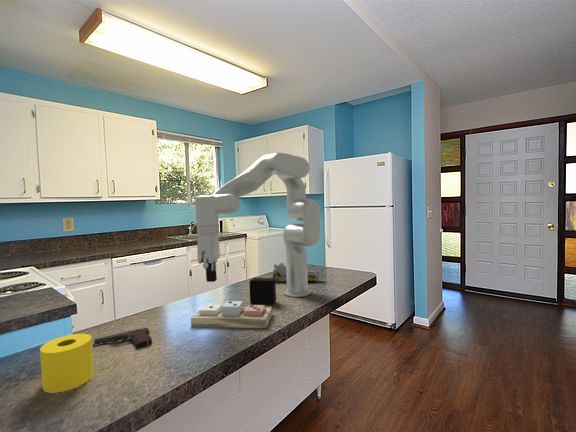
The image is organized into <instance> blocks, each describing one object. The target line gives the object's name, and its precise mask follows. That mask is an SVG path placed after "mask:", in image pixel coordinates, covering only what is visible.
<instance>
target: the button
mask: <svg viewBox="0 0 576 432" xmlns="http://www.w3.org/2000/svg"><path fill="white" fill-rule="evenodd" d="M222 306H223V304H209V303H208V304H205V305H204V306H203V307H202V308H200V309H201V310H200V309H199V310H200V315H215V316H217V315H218V314H219V313H220V312H221V311H222Z"/></svg>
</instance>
